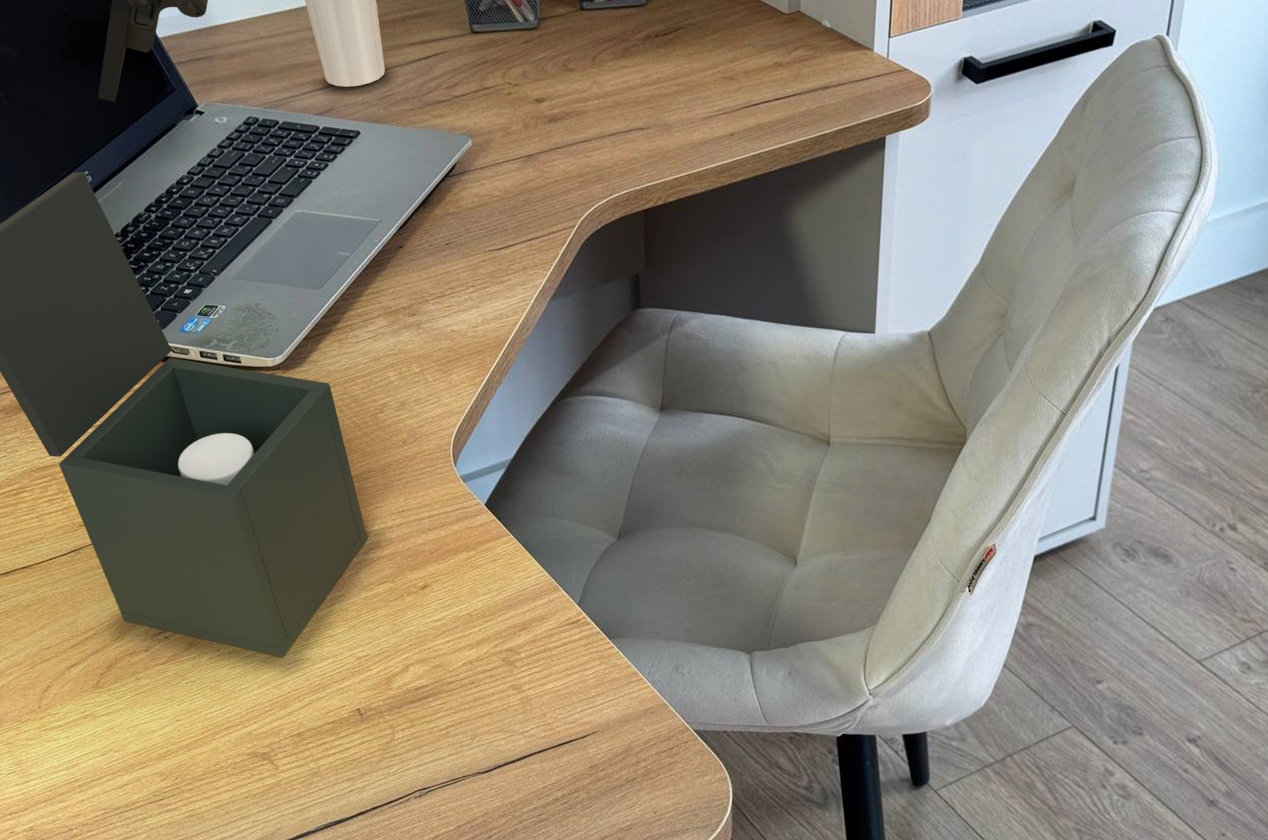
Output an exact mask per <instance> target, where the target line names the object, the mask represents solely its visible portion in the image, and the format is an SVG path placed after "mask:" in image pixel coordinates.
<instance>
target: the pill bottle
mask: <svg viewBox="0 0 1268 840" xmlns="http://www.w3.org/2000/svg"><path fill="white" fill-rule="evenodd" d="M254 454H255V453H254V450H253V447H252V445H251V443H250V442H249V441H248V440H247V439H246V438H245V437H243V436H240V435H237V434H231V433H221V434H214V435H210V436H207V437H204V438H202V439H199V440H197V441H195V442H194V443H192V444H191V445H190V446H188V447H187V448H186V449H185V450H184V451H183V452H182V454H181V455H180V458H179V461H178V468H179V471H180V474H181V477H185V478H191V479H196V480H201V481H206V482H212V483H217V484H222V485H227V486H228V484H229V483H230V481H231V480H232V479H233V478H234V477H235V476H236V475H237V473H238V472H239V471H240V470H241V469H242V468H243V467H244V465H245V464H246V463H247V462H248V461H249V460H250V459H251V457H252V456H253V455H254Z"/></svg>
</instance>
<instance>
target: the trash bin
mask: <svg viewBox="0 0 1268 840" xmlns="http://www.w3.org/2000/svg"><path fill="white" fill-rule="evenodd" d="M340 425H341V424H340V421H339V417H338V414H337V409H336V405H335V400H334V396H333V393H332V387H331V384H330V383H329V382H322V381H317V380H316V381H315V380H310V379H305V378H299V377H291V376H286V375H281V374H280V375H279V374H272V373H266V372H260V371H255V370H247V369H241V368H234V367H231V366H222V365H216V364H211V363H204V362H198V361H192V360H184V359H178V358H173V357H170V358H168V359H167V360H166V361H164V363H163V364H162V365H160V366H159V367H158V368H157V369H156V370H155V371H154V372H153V373H152V374H151V375H150V376H149V377H148V378H147V379H146V380H145V381H144V382H142V383H141V384H140V385H139V386H138V387H137V388H136V390H134V391H133V392H132V393H131V394H130V395H129V396H127V398H126V399H125V400H124V401H123V402H121V404H120V405H118V406H117V407H116V408H115V410H113V411H112V412H111V413H110V414H109V415H108V416H107V417H106V418H105V419H104V420H103V421H102V422H100V423H99V424H98V426H96V427H95V428H94V429H93V430H92V431H91V432H90V433H89V434H88V435H87V436H86V437H85V438H84V439H83V440H82V441H81V442H80V443H79V444H77V446H76V447H75V448H73V450H72V451H70V452H69V453H68V455H66V456H65V458H63V459H62V460H61V461H60V462H59V463H58V466H59V468H60V471H61V473H62V476H63V477H64V480H65V483H66V485H67V488H68V491H69V493H70V495H71V497H72V499H73V502H74V504H75V506H76V509H77V512H78V514H79V516H80V519H81V521H82V523H83V526H84V529H85V531H86V533H87V535H88V538H89V540H90V542H91V545H92V547H93V550H94V552H95V554H96V556H97V559H98V562H99V564H100V567H101V569H102V571H103V574H104V576H105V579H106V581H107V583H108V585H109V588H110V590H111V593H112V595H113V598H114V600H115V602H116V605H117V608H118V609H119V612H120V614H121V617H122V620H123V621H124V622H126V623H130V624H135V625H138V626H143V627H148V628H151V629H152V628H153V629H156V630H161V631H164V632H170V633H173V634H178V635H182V636H186V637H191V638H196V639H200V640H203V641H207V642H208V641H209V642H213V643H217V644H222V645H226V646H230V647H235V648H238V649H243V650H246V651H247V650H248V651H252V652H256V653H260V654H265V655H270V656H273V657H278V658H284V657H285V656H286V654H287V653H288V651H289V650H290V649H291V648H292V646H293V645H294V643H295V642H296V640H297V639H298V637H299V636H300V635H301V633H302V632H303V630H304V629H305V628H306V627H307V625H308V624H309V622H310V620H311V619H312V618H313V616H314V615H315V613H316V612H317V611H318V609H319V608H320V607H321V606H322V604H323V602H324V601H325V600H326V598H327V596H329V594H330V593H331V591H332V590H333V588H334V587H335V585H337V582H339V580H340V579H341V577H342V576H343V574H344V573H345V571H347V568H348V567H349V566H350V565H351V563H352V561H353V560H354V559H355V558H356V556H357V555H358V554H359V552H360V550H361V549H362V548H363V546H364V545H365V543H366V542H367V540H368V534H367V530H366V528H365V523H364V519H363V515H362V511H361V507H360V503H359V499H358V495H357V491H356V486H355V482H354V479H353V474H352V470H351V466H350V462H349V458H348V454H347V450H346V446H345V442H344V437H343V434H342V430H341V429H342V428H341V426H340ZM221 433H231V434H237V435H240V436H243V437H245V438H246V439H247V440H248V441H249V442H250V443H251V445H252V447H253V450H254V453H255V454H254V455H253V456H252V457H251V459H250V460H249V461H248V462H247V463H246V464H245V465H244V467H243V468H242V469H241V470H240V471H239V472H238V473H237V475H236V476H235V477H234V478H233V479H232V480H231V481H230V483H229V484H228V486H227V485H222V484H217V483H212V482H206V481H201V480H196V479H191V478H185V477H181V474H180V471H179V468H178V461H179V458H180V455H181V454H182V452H183V451H184V450H185V449H186V448H187V447H188V446H190V445H191V444H192V443H194V442H195V441H197V440H199V439H202V438H204V437H207V436H210V435H214V434H221Z"/></svg>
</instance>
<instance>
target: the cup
mask: <svg viewBox="0 0 1268 840" xmlns="http://www.w3.org/2000/svg"><path fill="white" fill-rule="evenodd" d="M304 3H305V6H306V11H307V14H308V18H309V21H310V26H311V29H312V34H313V38H314V41H315V44H316V48H317V52H318V56H319V60H320V64H321V68H322V72H323V75H324V79H325V81H326V82H327V83H328V84H330V85H333V86H335V87H347V88H348V87H358V86H363V85H367V84H371V83H373V82H375V81H377V80H379V79H380V78H382V77H383V76H384V75H385V72H386V69H385V68H386V67H385V59H384V52H383V51H384V50H383V45H382V36H381V29H380V22H379V21H380V20H379V13H378V6H377V0H304Z"/></svg>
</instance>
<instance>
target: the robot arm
mask: <svg viewBox="0 0 1268 840" xmlns="http://www.w3.org/2000/svg"><path fill="white" fill-rule="evenodd" d="M208 2H209V0H111V5H110V11H109V17H108V18H109V19H108V26H107V33H106V40H105V45H104V53H103V60H102V67H101V74H100V81H99V87H98V88H99V89H98V96H97V99H101V100H104V101H109V102H112V103H116V100H117V95H118V90H119V85H120V80H121V74H122V70H123V65H124V59H125V55H126V48H127V49H131V50H135V51H138V52H142V53H147V54H148V52H150V51H151V50H152V49H153V47H154V43H155V38H156V33H157V29H158V24H159V18H160V14H161V12H162V11H163V10H165V9H168V8H177V10H178V11H179V12H180V13H181V14H183V15H184V16H187V17H191V18H201V17H203V16H204V15H206V12H207V10H208V9H207V8H208Z"/></svg>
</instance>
